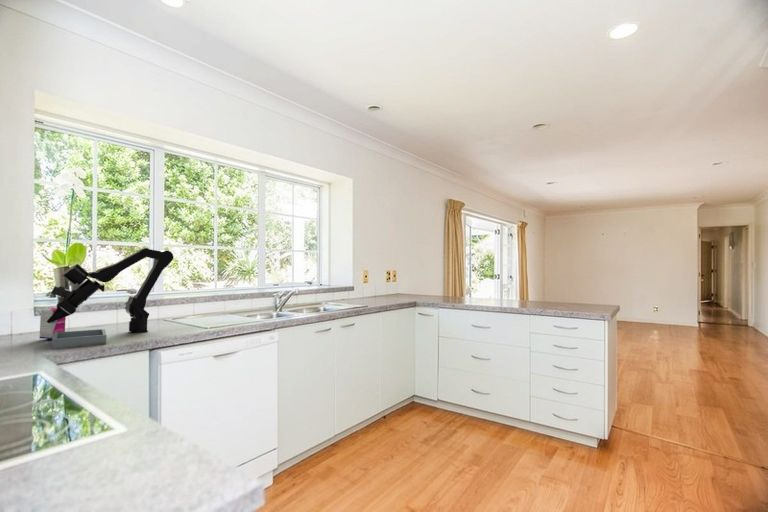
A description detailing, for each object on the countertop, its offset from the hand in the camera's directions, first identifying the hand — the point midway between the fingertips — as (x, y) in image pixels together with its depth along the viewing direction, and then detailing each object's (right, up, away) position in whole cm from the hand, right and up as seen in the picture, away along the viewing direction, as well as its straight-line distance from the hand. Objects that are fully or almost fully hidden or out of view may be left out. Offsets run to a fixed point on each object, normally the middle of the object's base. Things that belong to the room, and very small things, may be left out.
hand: (48, 321), depth 158 cm
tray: (+16, -8, -4) cm, 18 cm away
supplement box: (+1, -7, +1) cm, 7 cm away
